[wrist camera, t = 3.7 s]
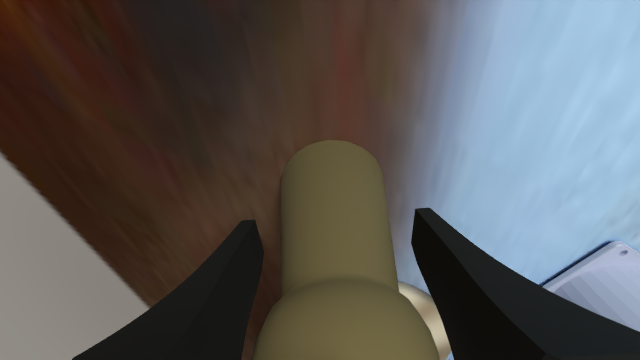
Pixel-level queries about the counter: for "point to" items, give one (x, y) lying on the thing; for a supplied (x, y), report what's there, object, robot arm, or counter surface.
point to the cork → (339, 266)
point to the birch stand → (428, 316)
